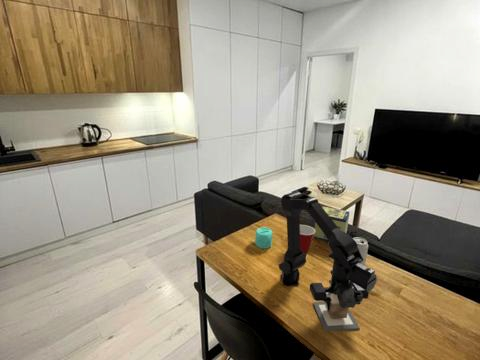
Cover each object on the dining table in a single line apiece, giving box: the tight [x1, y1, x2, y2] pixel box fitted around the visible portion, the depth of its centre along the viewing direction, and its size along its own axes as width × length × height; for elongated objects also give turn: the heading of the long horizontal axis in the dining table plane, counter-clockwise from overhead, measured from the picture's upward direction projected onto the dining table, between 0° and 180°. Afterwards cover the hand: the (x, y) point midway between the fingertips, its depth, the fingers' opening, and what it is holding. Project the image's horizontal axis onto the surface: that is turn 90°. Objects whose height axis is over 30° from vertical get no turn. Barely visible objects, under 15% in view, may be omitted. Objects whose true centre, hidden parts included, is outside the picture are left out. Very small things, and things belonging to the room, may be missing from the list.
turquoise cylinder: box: [254, 226, 273, 249], centre depth 135 cm, size 8×8×8 cm
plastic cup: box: [300, 224, 316, 254], centre depth 130 cm, size 11×11×12 cm
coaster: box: [312, 301, 361, 332], centre depth 93 cm, size 12×12×1 cm
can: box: [349, 236, 369, 266], centre depth 119 cm, size 8×8×12 cm
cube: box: [325, 294, 348, 319], centre depth 91 cm, size 6×6×6 cm
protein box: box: [313, 205, 350, 243], centre depth 139 cm, size 10×16×16 cm
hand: (335, 309), depth 92 cm, fingers closed on cube, 5 cm apart
